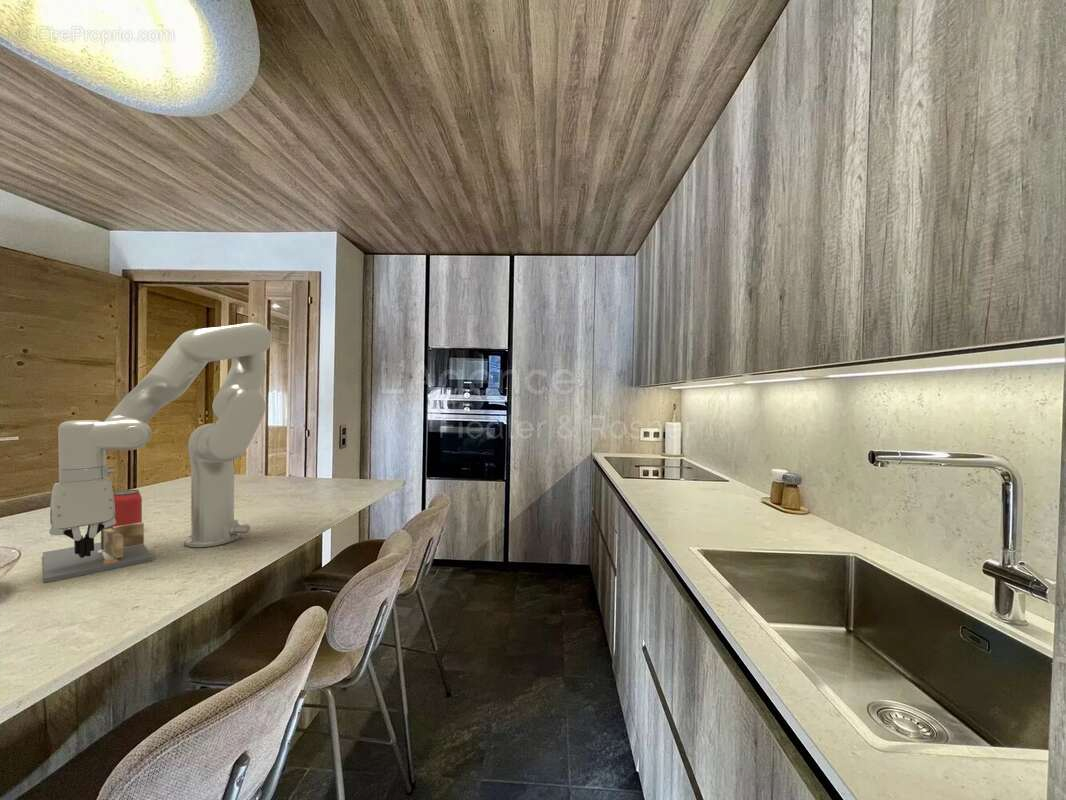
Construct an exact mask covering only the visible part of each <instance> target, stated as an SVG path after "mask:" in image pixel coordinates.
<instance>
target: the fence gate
mask: <svg viewBox="0 0 1066 800" xmlns="http://www.w3.org/2000/svg"><path fill="white" fill-rule="evenodd" d="M100 542H101V550H105V551H106V552H108V553H109V554H111V555H112V556H114V557H115V558H120V557H123V535H121V534H119V533H118V532H116V531H114V530H112V529H111V526H109V527H105V528H103V529H102V530H101V531H100Z"/></svg>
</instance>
